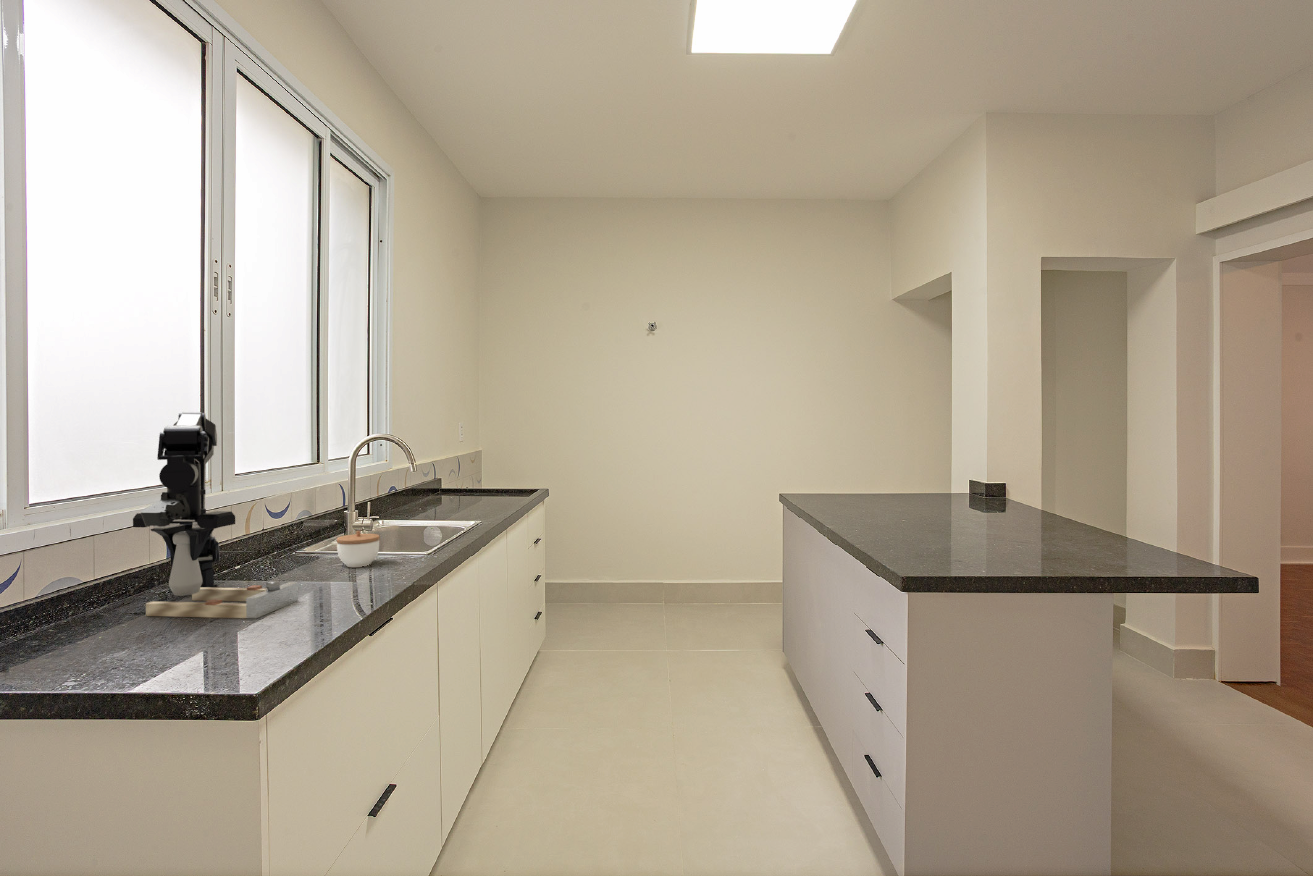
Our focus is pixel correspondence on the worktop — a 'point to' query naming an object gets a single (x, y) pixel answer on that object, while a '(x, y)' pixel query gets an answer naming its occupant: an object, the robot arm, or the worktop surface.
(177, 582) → the salt shaker
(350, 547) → the lidded jar
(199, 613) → the wooden tray
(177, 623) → the worktop surface
